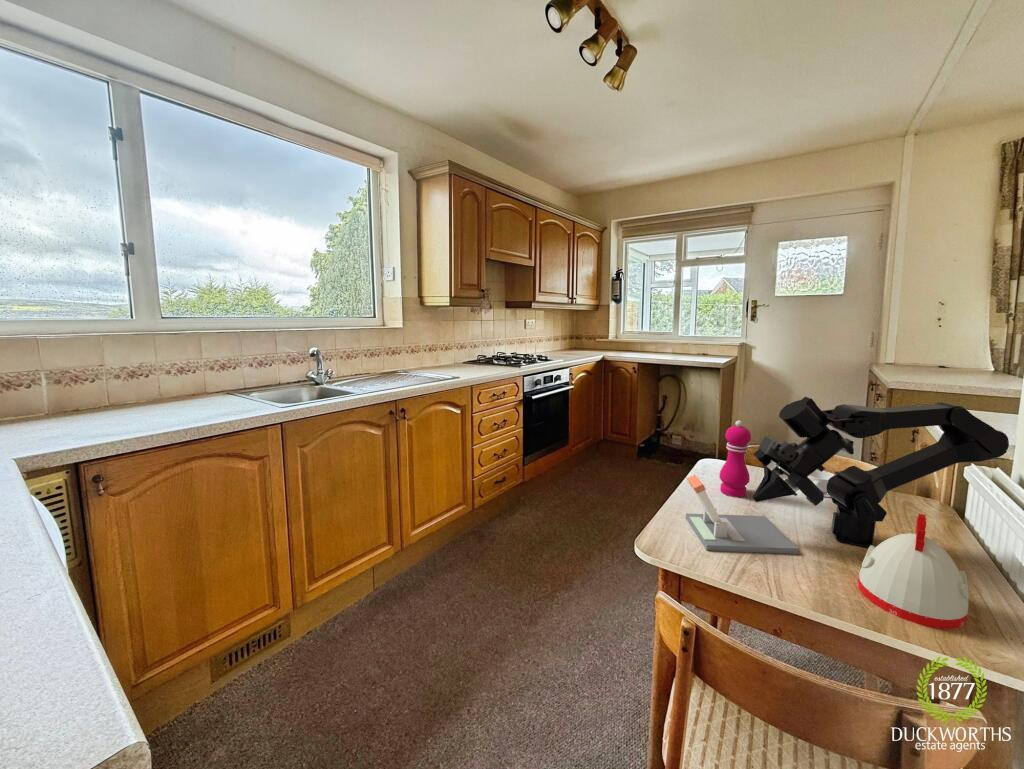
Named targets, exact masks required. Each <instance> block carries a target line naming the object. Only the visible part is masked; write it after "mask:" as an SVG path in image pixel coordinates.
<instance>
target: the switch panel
mask: <svg viewBox="0 0 1024 769" xmlns="http://www.w3.org/2000/svg"><path fill="white" fill-rule="evenodd" d="M715 510H716V511H717V508H715ZM718 516H719V517H720V519H721V521H722V522H715V524H714V523H713V521H712V520H711V519H710V517H709V516H708V515H707V513H706V511H705V509H704V508H703V513H685V519H686V521H687V523H688V524H689V525H690V527H691V529H692V530H693V531H694V533H695V535H696V536H697V538H698V540H699V541H700V543H701V544H702V545H703V547H704V549H705V550H706V551H707V550H712V552H713V551H714V552H735V553H736V552H739V553H760V554H761V553H765V554H790V555H794V554H795V555H798V554H799V547H798V546H797V545H796V544H795V543H793V541H792V540H790V538H788V537H787V535H786V534H784V533H783V532H782V531H781V530H780V529H779V528H778V526H776V525H775V524H774V523H773V522H772V521H771V520H770V518H768V517H767V516H766V515H747V514H746V515H744V514H742V515H741V514H718Z"/></svg>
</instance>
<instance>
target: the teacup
mask: <svg viewBox="0 0 1024 769" xmlns="http://www.w3.org/2000/svg"><path fill="white" fill-rule="evenodd" d="M834 475H835V473H832V472H829V471H825V470H823V471H822V472H821V471H819V470H815V471H814V472H813V473H812V474H810V475H809V476H808V478H809V479H810V480H811V481H812V482H813V483H814V484H815V485H816V486H817V487H818V488H819V489H820V490H821V491H822V492H823V493H824V497H826V498H831V496H830V495H829V494H827V489H826V488H827V484H828V480H829V479H830V478H831V477H832V476H834Z"/></svg>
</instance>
